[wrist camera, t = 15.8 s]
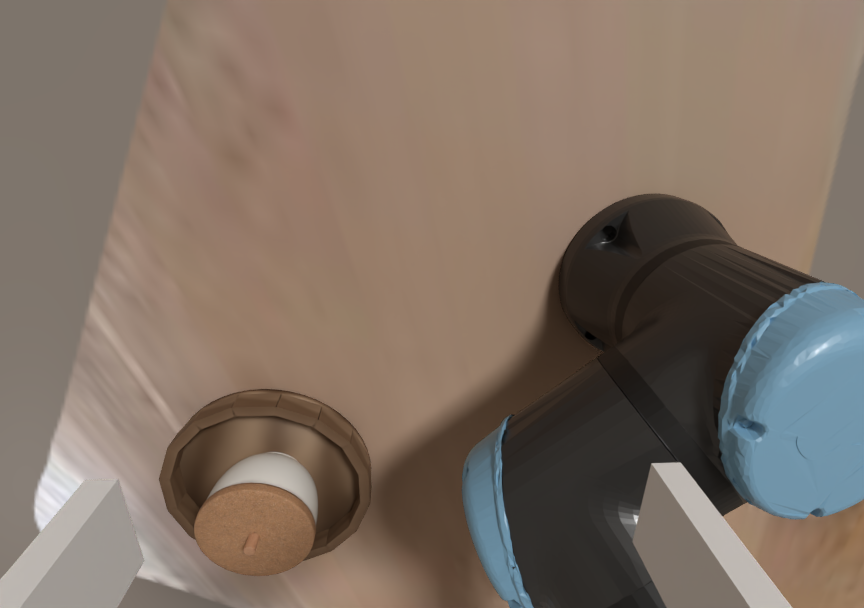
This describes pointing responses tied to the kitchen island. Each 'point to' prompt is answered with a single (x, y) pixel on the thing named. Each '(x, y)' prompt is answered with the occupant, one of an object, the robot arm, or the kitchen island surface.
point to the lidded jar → (259, 516)
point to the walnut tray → (271, 432)
